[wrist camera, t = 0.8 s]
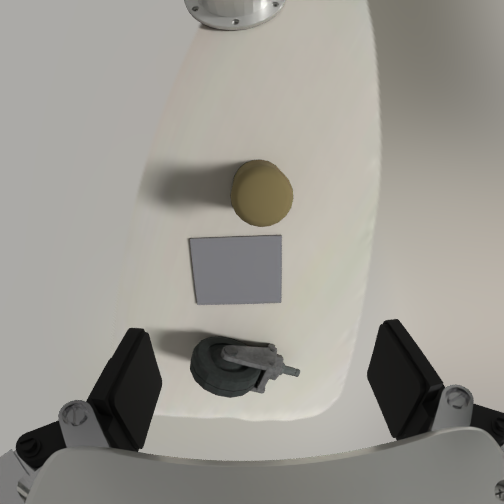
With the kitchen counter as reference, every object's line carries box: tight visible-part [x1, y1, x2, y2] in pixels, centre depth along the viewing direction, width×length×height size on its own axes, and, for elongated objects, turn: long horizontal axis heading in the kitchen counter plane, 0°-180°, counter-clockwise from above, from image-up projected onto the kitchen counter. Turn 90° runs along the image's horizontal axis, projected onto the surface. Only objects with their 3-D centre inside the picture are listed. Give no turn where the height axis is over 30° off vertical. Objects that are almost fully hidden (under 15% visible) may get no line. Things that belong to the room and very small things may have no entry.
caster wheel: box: [190, 337, 300, 398], centre depth 36 cm, size 6×10×15 cm
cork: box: [231, 160, 293, 227], centre depth 27 cm, size 6×6×11 cm
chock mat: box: [190, 235, 282, 305], centre depth 36 cm, size 9×11×1 cm
